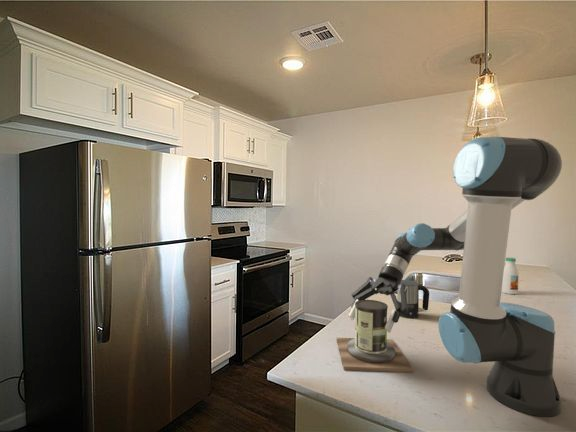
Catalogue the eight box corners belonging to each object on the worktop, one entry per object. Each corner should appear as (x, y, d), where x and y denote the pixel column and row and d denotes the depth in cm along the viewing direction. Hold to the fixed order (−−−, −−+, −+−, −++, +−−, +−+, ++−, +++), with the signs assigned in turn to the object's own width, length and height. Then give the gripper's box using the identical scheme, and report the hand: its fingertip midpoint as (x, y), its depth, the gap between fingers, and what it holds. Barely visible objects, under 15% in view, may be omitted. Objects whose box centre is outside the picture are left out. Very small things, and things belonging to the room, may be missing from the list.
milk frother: (403, 319, 133) (404, 285, 133) (384, 307, 149) (384, 276, 148) (432, 316, 137) (433, 283, 136) (410, 305, 152) (410, 275, 151)
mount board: (412, 372, 91) (412, 364, 91) (343, 369, 92) (343, 361, 92) (392, 342, 111) (393, 335, 111) (336, 340, 112) (336, 333, 112)
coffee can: (385, 341, 105) (386, 300, 105) (388, 356, 95) (389, 310, 95) (354, 338, 107) (354, 298, 107) (354, 352, 97) (354, 308, 97)
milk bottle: (504, 294, 174) (505, 258, 173) (499, 290, 181) (500, 256, 180) (520, 295, 171) (521, 259, 171) (514, 291, 179) (515, 257, 178)
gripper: (432, 284, 102) (409, 342, 92) (366, 271, 120) (342, 319, 111) (425, 270, 98) (400, 329, 89) (359, 259, 117) (332, 307, 107)
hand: (368, 323), depth 100 cm, fingers open, 13 cm apart
